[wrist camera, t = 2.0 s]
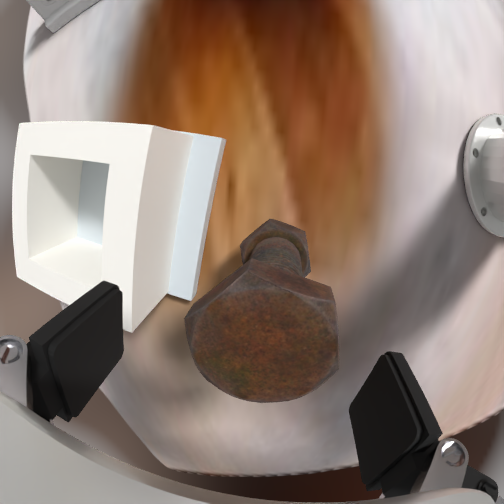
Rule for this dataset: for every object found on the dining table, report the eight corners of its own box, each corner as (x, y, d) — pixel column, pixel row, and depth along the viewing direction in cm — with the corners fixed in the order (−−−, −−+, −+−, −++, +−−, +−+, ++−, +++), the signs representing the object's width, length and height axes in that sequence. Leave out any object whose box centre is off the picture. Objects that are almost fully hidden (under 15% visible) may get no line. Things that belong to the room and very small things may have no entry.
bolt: (270, 281, 24) (247, 421, 10) (232, 237, 23) (155, 342, 9) (324, 240, 22) (374, 355, 8) (286, 193, 22) (285, 243, 7)
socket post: (226, 139, 21) (191, 125, 13) (196, 293, 25) (160, 346, 17) (67, 124, 22) (8, 121, 14) (57, 246, 26) (6, 271, 18)
